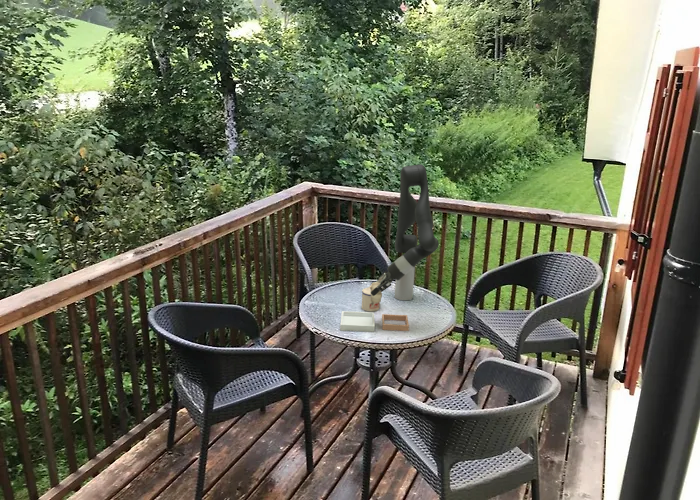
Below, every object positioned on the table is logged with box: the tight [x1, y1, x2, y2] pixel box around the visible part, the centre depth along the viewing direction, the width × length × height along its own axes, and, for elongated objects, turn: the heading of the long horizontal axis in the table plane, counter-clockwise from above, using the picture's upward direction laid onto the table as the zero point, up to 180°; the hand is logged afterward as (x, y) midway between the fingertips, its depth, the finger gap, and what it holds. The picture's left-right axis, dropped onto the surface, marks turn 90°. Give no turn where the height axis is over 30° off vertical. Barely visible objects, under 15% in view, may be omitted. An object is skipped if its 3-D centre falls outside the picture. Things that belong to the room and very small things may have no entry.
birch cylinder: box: [370, 281, 382, 303], centre depth 250 cm, size 5×5×8 cm
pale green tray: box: [339, 310, 376, 333], centre depth 254 cm, size 15×15×3 cm
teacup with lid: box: [361, 284, 383, 313], centre depth 271 cm, size 12×9×12 cm
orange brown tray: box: [381, 313, 410, 332], centre depth 255 cm, size 12×12×2 cm
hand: (371, 292), depth 249 cm, fingers closed on birch cylinder, 4 cm apart
